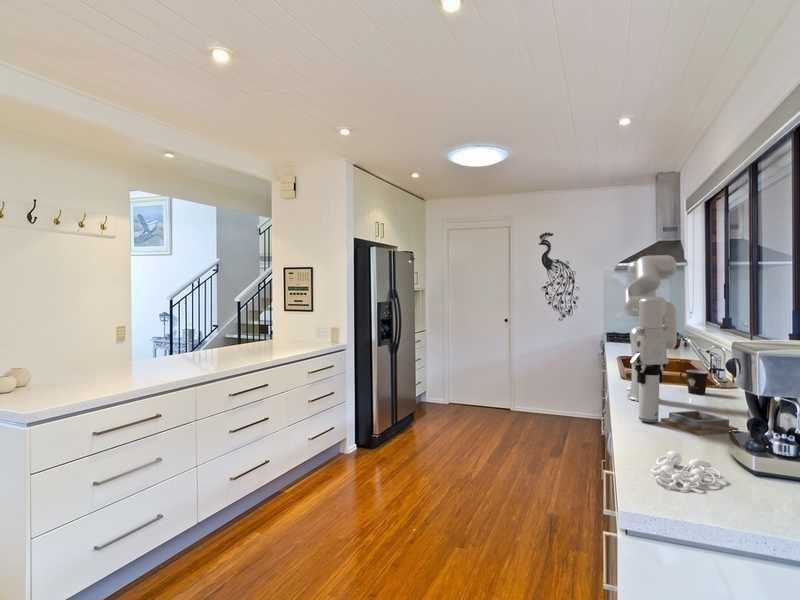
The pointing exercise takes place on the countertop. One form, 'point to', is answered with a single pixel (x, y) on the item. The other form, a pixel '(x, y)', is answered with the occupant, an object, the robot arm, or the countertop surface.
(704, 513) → the countertop surface
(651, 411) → the travel mug
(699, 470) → the tangled rod sculpture
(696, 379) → the coffee mug
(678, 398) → the countertop surface
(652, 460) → the countertop surface
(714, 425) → the frame
